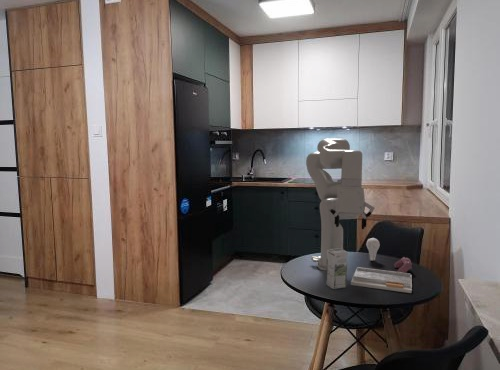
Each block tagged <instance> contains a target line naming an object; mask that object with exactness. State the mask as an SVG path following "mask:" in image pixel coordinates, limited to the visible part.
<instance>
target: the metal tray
mask: <svg viewBox="0 0 500 370" xmlns="http://www.w3.org/2000/svg"><path fill="white" fill-rule="evenodd" d="M356 269H357V271H356V270H355V271H356V273H355V272H354V274H355V276H354V275H353V276H352V278H353V280H359V281H366V282H374V283H381V284H386V283H392V284H400V285H403V286H404V287H410V275H411V273H408V272H405V273H403V272H398V271H395V272H394V271H393V270H383V269H377V268H370V267H369V268H368V267H360V266H357V267H356Z"/></svg>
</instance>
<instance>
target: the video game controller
mask: <svg viewBox="0 0 500 370" xmlns="http://www.w3.org/2000/svg"><path fill="white" fill-rule="evenodd" d="M412 265H413V263H412V261H411V259H410V258H408V257H405V256H403V257H402V258H400V259H399V260H398V261H396V262H395V263H394V264H393V267H394V268H396V269H397V268H398V269H397V272H403V273H408V271H410V270H412V268H413V267H412Z"/></svg>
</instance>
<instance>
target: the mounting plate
mask: <svg viewBox="0 0 500 370" xmlns="http://www.w3.org/2000/svg"><path fill="white" fill-rule="evenodd" d="M356 271H357V268H356V269H355V272H354V273H353V276H355V273H356ZM394 272H396V271H394ZM412 276H413V275H412V274H410V287H404V286H403V285H400V284H392V283H386V284H381V283H374V282H366V281H359V280H353V277H352V279H351V280H350V285H351V286H355V287H364V288H365V287H366V288H372V289H378V290H379V289H380V290H386V291H392V292H393V291H394V292H400V293H406V294H407V293H408V294H412V291H413V289H412V288H413V283H412V279H413V278H412Z"/></svg>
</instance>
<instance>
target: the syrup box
mask: <svg viewBox="0 0 500 370" xmlns="http://www.w3.org/2000/svg"><path fill="white" fill-rule="evenodd" d="M325 272H326V274H325V285H326V286H328V287H329V288H330V289H333V290H339V289H346V288H347V276H348V274H347V273H348V251H346V250H345V249H344V248H343V249H340V248H337V249H328V250H327V269H326V271H325Z"/></svg>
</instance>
